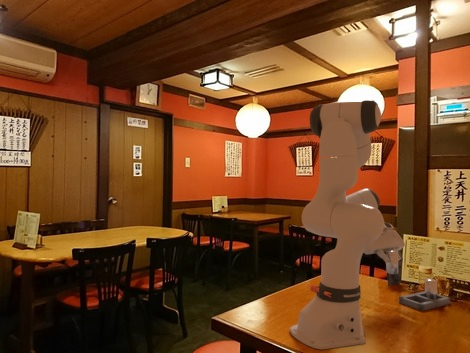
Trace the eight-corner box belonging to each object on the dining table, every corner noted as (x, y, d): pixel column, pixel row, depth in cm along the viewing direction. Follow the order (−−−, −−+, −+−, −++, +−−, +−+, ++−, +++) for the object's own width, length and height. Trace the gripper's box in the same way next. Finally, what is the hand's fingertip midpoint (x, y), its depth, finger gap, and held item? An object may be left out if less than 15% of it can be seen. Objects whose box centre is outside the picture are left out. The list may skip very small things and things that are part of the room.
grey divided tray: (421, 313, 118) (421, 305, 118) (398, 305, 126) (398, 297, 126) (449, 306, 125) (449, 298, 125) (426, 298, 133) (426, 290, 133)
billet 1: (393, 274, 123) (393, 252, 123) (383, 271, 127) (383, 250, 127) (400, 273, 125) (400, 251, 125) (391, 270, 128) (391, 249, 129)
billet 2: (432, 304, 124) (432, 282, 124) (422, 300, 128) (422, 279, 128) (439, 302, 126) (439, 280, 126) (429, 298, 130) (429, 277, 130)
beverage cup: (404, 288, 146) (405, 241, 146) (386, 286, 147) (386, 240, 148) (400, 283, 153) (400, 238, 153) (382, 282, 154) (383, 237, 155)
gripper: (357, 227, 127) (379, 258, 119) (394, 224, 137) (417, 253, 128) (348, 237, 131) (368, 268, 122) (384, 233, 141) (406, 262, 132)
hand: (393, 260), depth 125 cm, fingers closed on billet 1, 4 cm apart
